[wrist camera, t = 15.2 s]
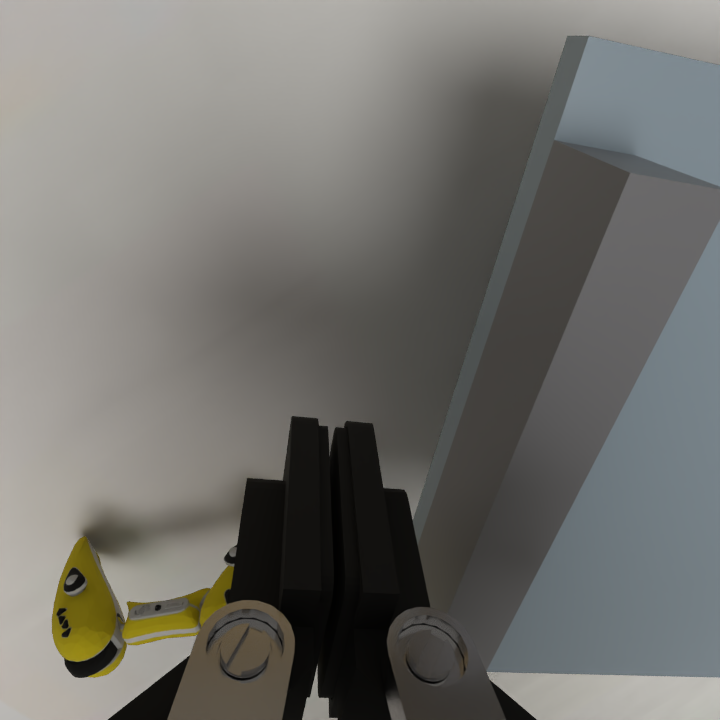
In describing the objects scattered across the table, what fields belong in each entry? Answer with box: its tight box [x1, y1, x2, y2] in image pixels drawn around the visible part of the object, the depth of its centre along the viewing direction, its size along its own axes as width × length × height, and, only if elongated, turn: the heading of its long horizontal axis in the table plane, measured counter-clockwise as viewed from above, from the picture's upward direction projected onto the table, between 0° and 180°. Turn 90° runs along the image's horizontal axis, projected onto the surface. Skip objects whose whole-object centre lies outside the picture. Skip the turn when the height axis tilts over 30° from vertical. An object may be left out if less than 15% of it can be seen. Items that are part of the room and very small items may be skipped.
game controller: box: [52, 536, 237, 678], centre depth 22 cm, size 10×4×6 cm, turn 101°
